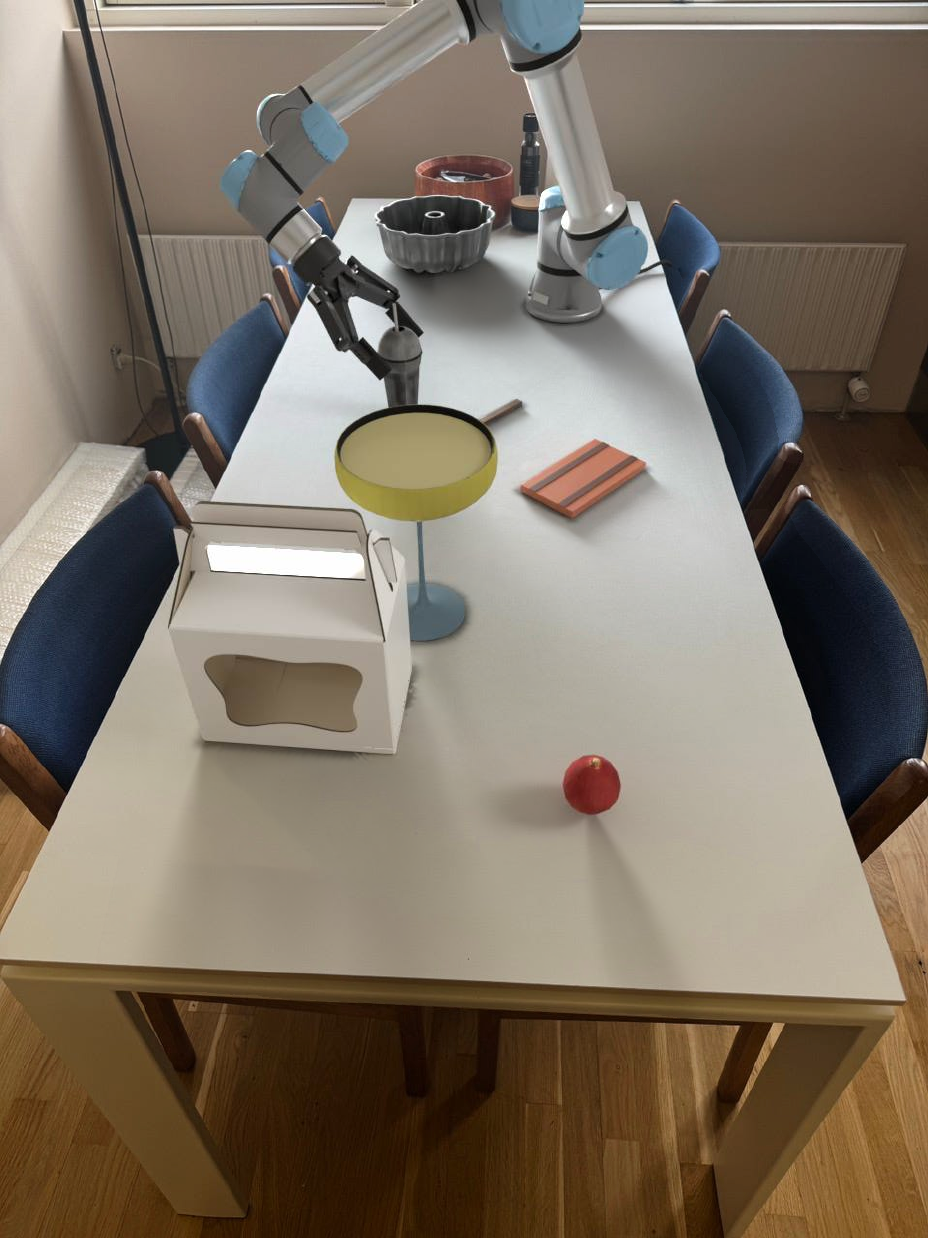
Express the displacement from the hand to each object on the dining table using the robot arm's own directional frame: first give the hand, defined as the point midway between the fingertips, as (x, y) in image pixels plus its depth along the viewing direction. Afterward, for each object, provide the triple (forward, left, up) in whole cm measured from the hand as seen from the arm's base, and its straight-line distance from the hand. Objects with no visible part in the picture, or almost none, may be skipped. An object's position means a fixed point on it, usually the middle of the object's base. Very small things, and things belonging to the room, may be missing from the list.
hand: (402, 356), depth 145 cm
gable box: (+52, +40, -11) cm, 66 cm away
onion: (+41, +72, -11) cm, 83 cm away
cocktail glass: (+32, +38, -11) cm, 51 cm away
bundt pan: (-52, -45, -11) cm, 70 cm away
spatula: (-6, +11, -11) cm, 17 cm away
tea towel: (-6, +34, -11) cm, 36 cm away
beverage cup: (0, 0, -11) cm, 11 cm away
